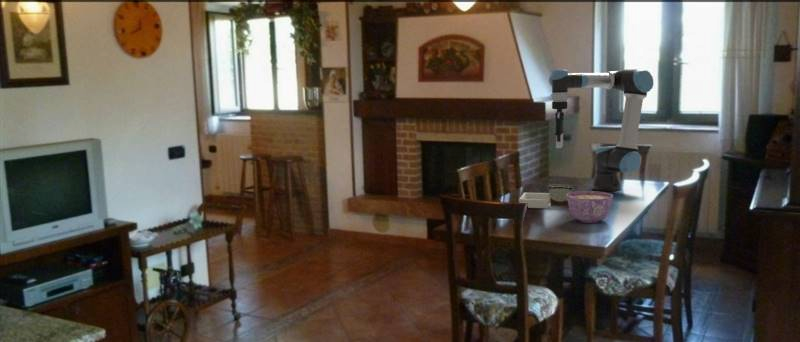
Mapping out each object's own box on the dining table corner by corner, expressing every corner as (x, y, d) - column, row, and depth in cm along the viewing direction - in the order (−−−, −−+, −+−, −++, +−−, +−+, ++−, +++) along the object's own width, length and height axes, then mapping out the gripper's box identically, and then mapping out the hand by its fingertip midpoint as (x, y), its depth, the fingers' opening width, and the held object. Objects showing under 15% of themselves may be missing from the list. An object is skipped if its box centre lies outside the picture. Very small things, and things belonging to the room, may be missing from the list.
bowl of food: (605, 227, 315) (605, 200, 313) (559, 223, 325) (559, 197, 323) (618, 218, 331) (619, 192, 330) (574, 214, 342) (574, 189, 340)
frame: (551, 201, 375) (551, 193, 374) (548, 208, 358) (548, 200, 357) (524, 200, 379) (524, 192, 378) (519, 207, 362) (519, 199, 361)
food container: (574, 204, 366) (574, 184, 364) (573, 206, 360) (573, 186, 358) (549, 203, 370) (549, 183, 368) (547, 205, 364) (547, 185, 362)
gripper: (553, 99, 380) (553, 144, 383) (550, 102, 361) (549, 149, 364) (569, 99, 378) (568, 144, 381) (565, 102, 359) (565, 149, 362)
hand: (559, 147), depth 373 cm, fingers open, 7 cm apart
